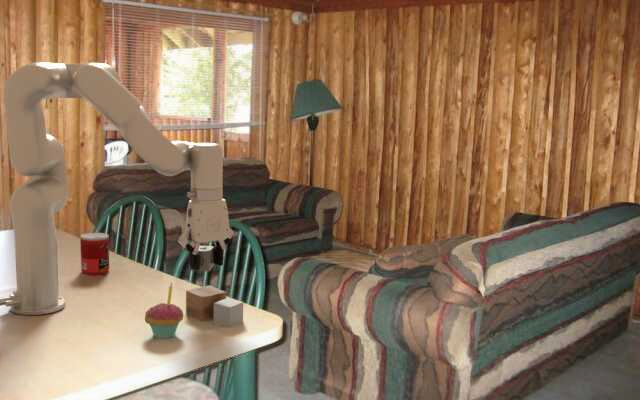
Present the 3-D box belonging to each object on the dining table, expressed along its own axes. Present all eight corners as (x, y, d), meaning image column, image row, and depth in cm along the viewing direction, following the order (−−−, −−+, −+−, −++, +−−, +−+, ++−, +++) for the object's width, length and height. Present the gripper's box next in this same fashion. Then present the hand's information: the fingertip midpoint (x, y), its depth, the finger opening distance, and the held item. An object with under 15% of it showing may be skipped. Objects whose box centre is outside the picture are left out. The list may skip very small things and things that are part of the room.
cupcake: (167, 325, 164) (167, 276, 162) (191, 334, 158) (191, 284, 156) (137, 335, 157) (136, 284, 155) (160, 345, 152) (160, 292, 150)
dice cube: (209, 271, 169) (209, 251, 168) (189, 270, 169) (189, 250, 168) (213, 265, 173) (213, 246, 173) (194, 264, 174) (194, 245, 173)
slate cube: (229, 327, 164) (230, 307, 163) (213, 323, 167) (213, 303, 166) (242, 321, 168) (243, 302, 167) (226, 317, 171) (227, 297, 170)
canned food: (104, 276, 201) (103, 239, 199) (77, 274, 201) (76, 237, 199) (113, 268, 208) (112, 233, 206) (86, 267, 208) (85, 232, 206)
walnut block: (202, 321, 168) (202, 297, 166) (186, 313, 172) (186, 290, 171) (225, 315, 172) (226, 292, 171) (209, 307, 177) (209, 285, 176)
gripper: (184, 200, 159) (184, 276, 162) (245, 193, 170) (244, 264, 173) (167, 195, 164) (167, 269, 167) (227, 189, 176) (226, 258, 179)
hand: (206, 266), depth 170 cm, fingers closed on dice cube, 6 cm apart
